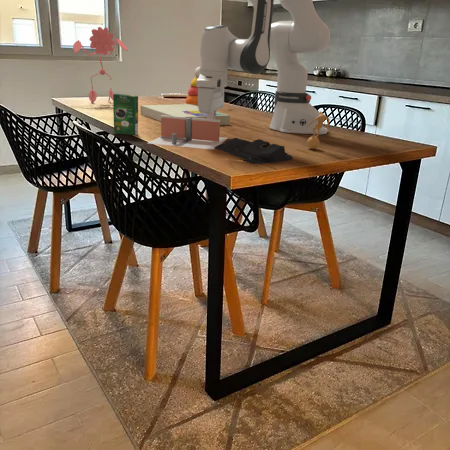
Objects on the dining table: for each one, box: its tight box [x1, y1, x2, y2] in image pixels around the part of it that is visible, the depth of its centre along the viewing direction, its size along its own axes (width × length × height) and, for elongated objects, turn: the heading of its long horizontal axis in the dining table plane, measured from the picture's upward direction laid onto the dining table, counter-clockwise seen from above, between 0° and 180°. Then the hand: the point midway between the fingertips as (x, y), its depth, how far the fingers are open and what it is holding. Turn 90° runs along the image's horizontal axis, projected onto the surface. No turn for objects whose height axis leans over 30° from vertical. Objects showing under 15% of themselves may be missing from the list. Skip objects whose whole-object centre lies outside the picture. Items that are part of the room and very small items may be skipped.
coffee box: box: [112, 93, 139, 136], centre depth 151 cm, size 8×3×13 cm, turn 75°
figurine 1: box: [72, 26, 129, 107], centre depth 220 cm, size 15×26×35 cm, turn 125°
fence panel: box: [192, 118, 221, 142], centre depth 146 cm, size 9×1×7 cm, turn 77°
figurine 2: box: [306, 111, 330, 150], centre depth 143 cm, size 8×6×12 cm
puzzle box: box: [140, 103, 231, 126], centre depth 191 cm, size 36×5×24 cm
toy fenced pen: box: [147, 134, 229, 151], centre depth 147 cm, size 21×20×4 cm
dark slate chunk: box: [214, 137, 293, 165], centre depth 134 cm, size 15×22×5 cm
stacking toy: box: [183, 66, 200, 106], centre depth 224 cm, size 14×14×20 cm
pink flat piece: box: [160, 115, 192, 140], centre depth 148 cm, size 10×2×7 cm, turn 77°
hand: (211, 124), depth 150 cm, fingers closed
